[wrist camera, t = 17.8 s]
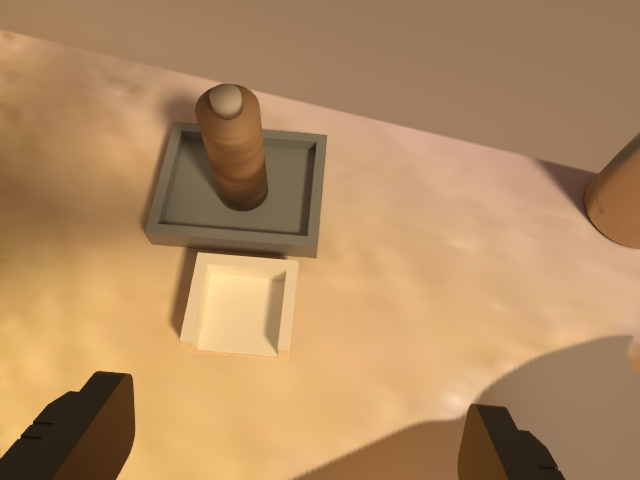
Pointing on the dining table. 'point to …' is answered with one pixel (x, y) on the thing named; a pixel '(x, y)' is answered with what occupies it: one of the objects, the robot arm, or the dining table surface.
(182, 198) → the serving tray
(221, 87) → the pepper mill
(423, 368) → the dining table surface
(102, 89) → the dining table surface
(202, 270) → the caddy slot
